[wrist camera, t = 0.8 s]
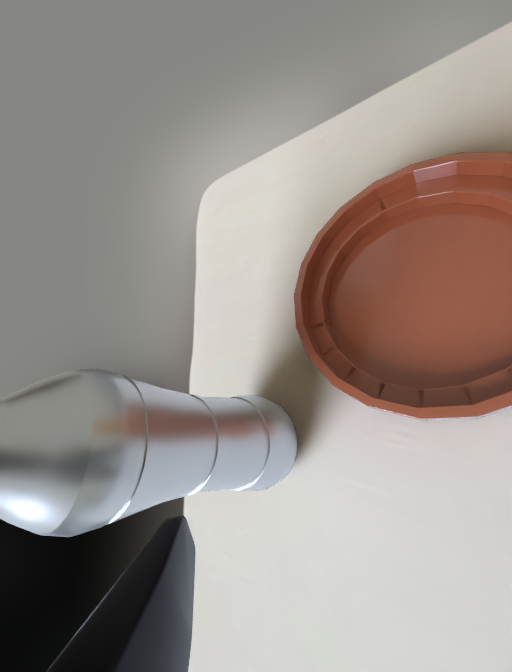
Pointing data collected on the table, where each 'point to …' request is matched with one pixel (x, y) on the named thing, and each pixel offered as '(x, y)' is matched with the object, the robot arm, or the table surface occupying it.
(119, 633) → the robot arm
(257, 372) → the table surface
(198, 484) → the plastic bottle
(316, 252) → the bowl
